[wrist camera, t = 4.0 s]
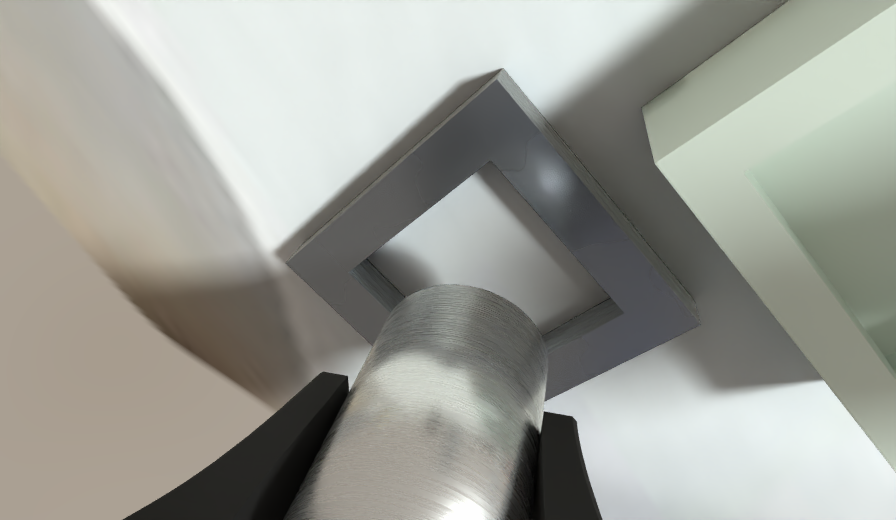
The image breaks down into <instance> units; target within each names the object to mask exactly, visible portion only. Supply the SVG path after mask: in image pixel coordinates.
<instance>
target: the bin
mask: <svg viewBox="0 0 896 520" xmlns="http://www.w3.org/2000/svg"><path fill="white" fill-rule="evenodd" d="M642 112H643V116H644V121H645V125H646V129H647V133H648V138H649V142H650V146H651V150H652V154H653V159H654V163H655V165H656V166H657V167H658V168H659V170H660V171H661V172H662V174H663V175H664V176H665V177H666V179H667V180H668V181H669V182H670V184H671V185H672V186H673V188H674V189H675V190H676V191H677V193H678V194H679V195H680V197H681V198H682V199H683V200H684V202H685V203H686V204H687V206H688V207H689V208H690V209H691V211H692V212H693V213H694V215H695V216H696V217H697V218H698V220H699V221H700V222H701V223H702V225H703V226H704V227H705V229H706V230H707V231H708V232H709V234H710V235H711V236H712V238H713V239H714V240H715V241H716V243H717V244H718V245H719V247H720V248H721V249H722V250H723V252H724V253H725V254H726V256H727V257H728V258H729V259H730V261H731V262H732V263H733V264H734V266H735V267H736V268H737V270H738V271H739V272H740V273H741V275H742V276H743V277H744V279H745V280H746V281H747V282H748V284H749V285H750V286H751V288H752V289H753V290H754V291H755V293H756V294H757V295H758V297H759V298H760V299H761V300H762V302H763V303H764V304H765V305H766V307H767V308H768V309H769V311H770V312H771V313H772V314H773V316H774V317H775V318H776V320H777V321H778V322H779V323H780V325H781V326H782V327H783V329H784V330H785V331H786V332H787V334H788V335H789V336H790V338H791V339H792V340H793V341H794V343H795V344H796V345H797V346H798V348H799V349H800V350H801V352H802V353H803V354H804V355H805V357H806V358H807V359H808V361H809V362H810V363H811V364H812V366H813V367H814V368H815V370H816V371H817V372H818V373H819V375H820V376H821V377H822V379H823V380H824V381H825V382H826V384H827V385H828V386H829V387H830V389H831V390H832V391H833V393H834V394H835V395H836V396H837V398H838V399H839V400H840V402H841V403H842V404H843V405H844V407H845V408H846V409H847V411H848V412H849V413H850V414H851V416H852V417H853V418H854V420H855V421H856V422H857V423H858V425H859V426H860V427H861V428H862V430H863V431H864V432H865V434H866V435H867V436H868V437H869V439H870V440H871V441H872V443H873V444H874V445H875V446H876V448H877V449H878V450H879V452H880V453H881V454H882V455H883V457H884V458H885V459H886V461H887V462H888V463H889V464H890V466H891V467H892V468H893V469H894V471H895V472H896V0H789V1H788V2H786V3H785V4H784V5H782V6H781V7H779V8H778V9H777V10H775V11H774V12H773V13H771V14H770V15H768V16H767V17H766V18H764V19H763V20H762V21H760V22H759V23H757V24H756V25H755V26H753V27H752V28H751V29H749V30H748V31H746V32H745V33H744V34H742V35H741V36H740V37H738V38H737V39H735V40H734V41H733V42H731V43H730V44H728V45H727V46H726V47H724V48H723V49H722V50H720V51H719V52H717V53H716V54H715V55H713V56H712V57H711V58H709V59H708V60H706V61H705V62H704V63H702V64H701V65H700V66H698V67H697V68H695V69H694V70H693V71H691V72H690V73H689V74H687V75H686V76H684V77H683V78H682V79H680V80H679V81H677V82H676V83H675V84H673V85H672V86H671V87H669V88H668V89H666V90H665V91H664V92H662V93H661V94H660V95H658V96H657V97H655V98H654V99H653V100H651V101H650V102H649V103H647V104H646V105H644V106H643V107H642Z"/></svg>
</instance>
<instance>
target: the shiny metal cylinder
mask: <svg viewBox="0 0 896 520" xmlns="http://www.w3.org/2000/svg"><path fill="white" fill-rule="evenodd" d="M547 372H548V353H547V349H546V345H545V342H544V340H543V337H542V335H541V333H540V332H539V330H538V328H537V327H536V325H535V324H534V323H533V322H532V320H531V319H530V318H529V317H528V316H527V315H526V314H525V313H524V312H523V311H522V310H521V309H519V308H518V307H517V306H516V305H514V304H513V303H511V302H510V301H508V300H506V299H505V298H503V297H501V296H499V295H497V294H494V293H492V292H490V291H487V290H484V289H481V288H476V287H472V286H465V285H439V286H433V287H429V288H425V289H422V290H420V291H417V292H415V293H413V294H411V295H409V296H408V297H406V298H405V299H403V300H402V301H401V302H400V303H398V305H397V306H396V307H395V308H394V309H393V310H392V312H391V313H390V315H389V316H388V318H387V320H386V322H385V324H384V326H383V328H382V330H381V332H380V334H379V335H378V337H377V339H376V341H375V343H374V345H373V347H372V349H371V351H370V353H369V355H368V357H367V359H366V361H365V363H364V364H363V366H362V368H361V370H360V372H359V374H358V376H357V378H356V380H355V382H354V384H353V386H352V388H351V390H350V392H349V393H348V395H347V397H346V399H345V401H344V403H343V405H342V407H341V409H340V411H339V413H338V415H337V417H336V419H335V421H334V422H333V424H332V426H331V428H330V430H329V432H328V434H327V436H326V438H325V440H324V442H323V444H322V446H321V448H320V450H319V451H318V453H317V455H316V457H315V459H314V461H313V463H312V465H311V467H310V469H309V471H308V473H307V475H306V477H305V479H304V480H303V482H302V484H301V486H300V488H299V490H298V492H297V494H296V496H295V498H294V500H293V502H292V504H291V506H290V508H289V509H288V511H287V513H286V515H285V517H284V519H283V520H532V512H533V503H534V493H535V483H536V469H537V459H538V450H539V441H540V432H541V426H542V419H543V409H544V400H545V391H546V381H547Z"/></svg>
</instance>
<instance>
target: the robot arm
mask: <svg viewBox="0 0 896 520" xmlns="http://www.w3.org/2000/svg"><path fill="white" fill-rule="evenodd" d="M348 393H349V385H348V376H344V375H339V374H333V373H328V372H322V373H320V374H319V375H318V376H317V377H315V378H314V379H313V380H312V381H311V382H310V383H309V384H308V385H307V386H305V387H304V388H303V389H302V390H301V391H300V392H299V393H298V394H296V395H295V396H294V397H293V398H292V399H291V400H290V401H289V402H287V403H286V404H285V405H284V406H283V407H282V408H281V409H279V410H278V411H277V412H276V413H275V414H274V415H272V416H271V417H270V418H269V419H268V420H267V421H265V422H264V423H263V424H262V425H261V426H259V427H258V428H257V429H256V430H255V431H253V432H252V433H251V434H250V435H249V436H247V437H246V438H245V439H244V440H242V441H241V442H240V443H239V444H237V445H236V446H234V447H233V448H232V449H230V450H229V451H228V452H227V453H225V454H224V455H223V456H221V457H220V458H219V459H217V460H216V461H215V462H213V463H212V464H210V465H209V466H208V467H206V468H205V469H203V470H202V471H201V472H199V473H198V474H196V475H195V476H193V477H192V478H190V479H189V480H187V481H186V482H184V483H183V484H181V485H180V486H178V487H177V488H175V489H174V490H172V491H170V492H169V493H167V494H166V495H164V496H162V497H161V498H159V499H157V500H156V501H154V502H152V503H151V504H149V505H147V506H146V507H144V508H142V509H141V510H139V511H137V512H135V513H133V514H132V515H130V516H128V517H126V518H125V519H123V520H283V519H284V517H285V515H286V513H287V511H288V509H289V508H290V506H291V504H292V502H293V500H294V498H295V496H296V494H297V492H298V490H299V488H300V486H301V484H302V482H303V480H304V479H305V477H306V475H307V473H308V471H309V469H310V467H311V465H312V463H313V461H314V459H315V457H316V455H317V453H318V451H319V450H320V448H321V446H322V444H323V442H324V440H325V438H326V436H327V434H328V432H329V430H330V428H331V426H332V424H333V422H334V421H335V419H336V417H337V415H338V413H339V411H340V409H341V407H342V405H343V403H344V401H345V399H346V397H347V395H348ZM532 520H602V517H601V514H600V511H599V508H598V505H597V502H596V499H595V496H594V493H593V490H592V487H591V484H590V481H589V477H588V474H587V470H586V467H585V463H584V459H583V455H582V451H581V446H580V441H579V435H578V429H577V421H576V420H575V419H574V418H573V417H572V416H566V415H561V414H555V413H550V412H544V414H543V420H542V426H541V432H540V441H539V450H538V459H537V469H536V483H535V493H534V503H533V512H532Z"/></svg>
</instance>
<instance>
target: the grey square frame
mask: <svg viewBox="0 0 896 520" xmlns="http://www.w3.org/2000/svg"><path fill="white" fill-rule="evenodd" d="M490 160H491V161H492V162H493V163H494V164H495V166H496V167H497V168H498V169H499V170H500V171H501V173H502V174H503V175H504V176H505V177H506V178H507V179H508V181H509V182H510V183H511V184H512V185H513V186H514V187H515V189H516V190H517V191H518V192H519V193H520V194H521V195H522V197H523V198H524V199H525V200H526V201H527V202H528V203H529V205H530V206H531V207H532V208H533V209H534V210H535V211H536V213H537V214H538V215H539V216H540V217H541V218H542V219H543V221H544V222H545V223H546V224H547V225H548V226H549V227H550V229H551V230H552V231H553V232H554V233H555V234H556V235H557V237H558V238H559V239H560V240H561V241H562V242H563V243H564V245H565V246H566V247H567V248H568V249H569V250H570V251H571V253H572V254H573V255H574V256H575V257H576V258H577V260H578V261H579V262H580V263H581V264H582V265H583V266H584V268H585V269H586V270H587V271H588V272H589V273H590V274H591V276H592V277H593V278H594V279H595V280H596V281H597V282H598V284H599V285H600V286H601V287H602V288H603V289H604V290H605V292H606V293H607V294H608V295H609V296H610V297H611V298H609V299H608V300H606V301H604V302H602V303H600V304H599V305H597V306H595V307H593V308H592V309H590V310H588V311H586V312H584V313H583V314H581V315H579V316H577V317H576V318H574V319H572V320H570V321H568V322H567V323H565V324H563V325H561V326H559V327H558V328H556V329H554V330H552V331H551V332H549V333H547V334H545V335H543V336H542V337H543V340H544V342H545V345H546V349H547V353H548V372H547V381H546V391H545V400H544V402H545V401H547V400H549V399H551V398H553V397H555V396H557V395H559V394H561V393H563V392H565V391H567V390H569V389H571V388H573V387H575V386H577V385H579V384H581V383H583V382H585V381H587V380H589V379H591V378H593V377H596V376H598V375H600V374H602V373H604V372H606V371H608V370H610V369H612V368H614V367H616V366H618V365H620V364H622V363H624V362H626V361H628V360H630V359H632V358H634V357H636V356H638V355H640V354H642V353H644V352H646V351H648V350H650V349H652V348H654V347H657V346H659V345H661V344H663V343H665V342H667V341H669V340H671V339H673V338H675V337H677V336H679V335H681V334H683V333H685V332H687V331H689V330H691V329H693V328H695V327H697V326H699V325H701V323H700V319H699V315H698V311H697V307H696V304H695V301H694V299H693V298H692V297H691V296H690V295H689V293H688V292H687V291H686V290H685V288H684V287H683V286H682V285H681V284H680V282H679V281H678V280H677V279H676V278H675V276H674V275H673V274H672V273H671V271H670V270H669V269H668V268H667V267H666V265H665V264H664V263H663V262H662V261H661V259H660V258H659V257H658V256H657V254H656V253H655V252H654V251H653V250H652V248H651V247H650V246H649V245H648V244H647V242H646V241H645V240H644V239H643V237H642V236H641V235H640V234H639V233H638V231H637V230H636V229H635V228H634V226H633V225H632V224H631V223H630V222H629V220H628V219H627V218H626V217H625V216H624V214H623V213H622V212H621V211H620V209H619V208H618V207H617V206H616V205H615V203H614V202H613V201H612V200H611V199H610V197H609V196H608V195H607V194H606V192H605V191H604V190H603V189H602V188H601V186H600V185H599V184H598V183H597V182H596V180H595V179H594V178H593V177H592V175H591V174H590V173H589V172H588V171H587V169H586V168H585V167H584V166H583V164H582V163H581V162H580V161H579V160H578V158H577V157H576V156H575V155H574V154H573V152H572V151H571V150H570V149H569V147H568V146H567V145H566V144H565V143H564V141H563V140H562V139H561V138H560V137H559V135H558V134H557V133H556V132H555V130H554V129H553V128H552V127H551V126H550V124H549V123H548V122H547V121H546V120H545V118H544V117H543V116H542V115H541V113H540V112H539V111H538V110H537V109H536V107H535V106H534V105H533V104H532V102H531V101H530V100H529V99H528V98H527V96H526V95H525V94H524V93H523V92H522V90H521V89H520V88H519V87H518V85H517V84H516V83H515V82H514V81H513V79H512V78H511V77H510V76H509V75H508V73H507V72H506V71H505V70H504V68H503V69H502V70H500V71H499V72H498V73H497V74H496V75H495V76H494V77H492V78H491V79H490V80H489V81H488V82H487V83H486V84H484V85H483V86H482V87H481V88H480V89H479V90H478V91H477V92H475V93H474V94H473V95H472V96H471V97H470V98H469V99H467V100H466V101H465V102H464V103H463V104H462V105H461V106H459V107H458V108H457V109H456V110H455V111H454V112H453V113H451V114H450V115H449V116H448V117H447V118H446V119H445V120H443V121H442V122H441V123H440V124H439V125H438V126H437V127H436V128H434V129H433V130H432V131H431V132H430V133H429V134H428V135H426V136H425V137H424V138H423V139H422V140H421V141H420V142H418V143H417V144H416V145H415V146H414V147H413V148H412V149H410V150H409V151H408V152H407V153H406V154H405V155H404V156H402V157H401V158H400V159H399V160H398V161H397V162H396V163H395V164H393V165H392V166H391V167H390V168H389V169H388V170H387V171H385V172H384V173H383V174H382V175H381V176H380V177H379V178H377V179H376V180H375V181H374V182H373V183H372V184H371V185H369V186H368V187H367V188H366V189H365V190H364V191H363V192H362V193H360V194H359V195H358V196H357V197H356V198H355V199H354V200H352V201H351V202H350V203H349V204H348V205H347V206H346V207H344V208H343V209H342V210H341V211H340V212H339V213H338V214H336V215H335V216H334V217H333V218H332V219H331V220H330V221H328V222H327V223H326V224H325V225H324V226H323V227H322V228H321V229H319V230H318V231H317V232H316V233H315V234H314V235H313V236H311V237H310V238H309V239H308V240H307V241H306V242H305V243H303V244H302V245H301V246H300V247H299V249H298V250H297V251H296V252H295V253H294V254H293V255H292V257H291V258H290V259H289V260H288V261H287V262H286V264H287V265H288V266H289V267H290V268H291V269H292V270H293V271H294V272H295V273H296V274H297V275H299V276H300V277H301V278H302V279H303V280H304V281H305V282H306V283H307V284H308V285H309V286H310V287H311V288H312V289H313V290H314V291H315V292H316V293H318V294H319V295H320V296H321V297H322V298H323V299H324V300H325V301H326V302H327V303H328V304H329V305H330V306H331V307H332V308H333V309H334V310H335V311H336V312H338V313H339V314H340V315H341V316H342V317H343V318H344V319H345V320H346V321H347V322H348V323H349V324H350V325H351V326H352V327H353V328H354V329H355V330H357V331H358V332H359V333H360V334H361V335H362V336H363V337H364V338H365V339H366V340H367V341H368V342H369V343H370V344H371V345H372V346H373V345H374V343H375V341H376V339H377V337H378V335H379V334H380V332H381V330H382V328H383V326H384V324H385V322H386V320H387V318H388V316H389V315H390V313H391V312H392V310H393V309H394V308H395V307H396V306H397V305H398V303H400V302H401V301H402V300H403V299H405V297H404V296H403V295H402V294H401V293H400V292H399V291H398V290H397V289H396V288H395V287H394V286H393V285H392V284H391V283H390V282H389V281H388V280H387V279H386V278H385V277H384V276H383V275H382V274H381V273H380V272H379V271H378V270H377V269H376V268H375V267H374V266H373V265H372V264H371V263H370V262H369V261H368V260H367V259H366V258H367V257H368V256H370V255H371V254H372V253H374V252H375V251H376V250H377V249H379V248H380V247H381V246H382V245H384V244H385V243H386V242H388V241H389V240H390V239H391V238H393V237H394V236H395V235H396V234H398V233H399V232H400V231H401V230H403V229H404V228H405V227H407V226H408V225H409V224H410V223H412V222H413V221H414V220H415V219H417V218H418V217H419V216H421V215H422V214H423V213H424V212H426V211H427V210H428V209H429V208H431V207H432V206H433V205H434V204H436V203H437V202H438V201H440V200H441V199H442V198H443V197H445V196H446V195H447V194H448V193H450V192H451V191H452V190H453V189H455V188H456V187H457V186H459V185H460V184H461V183H462V182H464V181H465V180H466V179H467V178H469V177H470V176H471V175H473V174H474V173H475V172H476V171H478V170H479V169H480V168H481V167H483V166H484V165H485V164H486V163H488V162H489V161H490Z"/></svg>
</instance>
